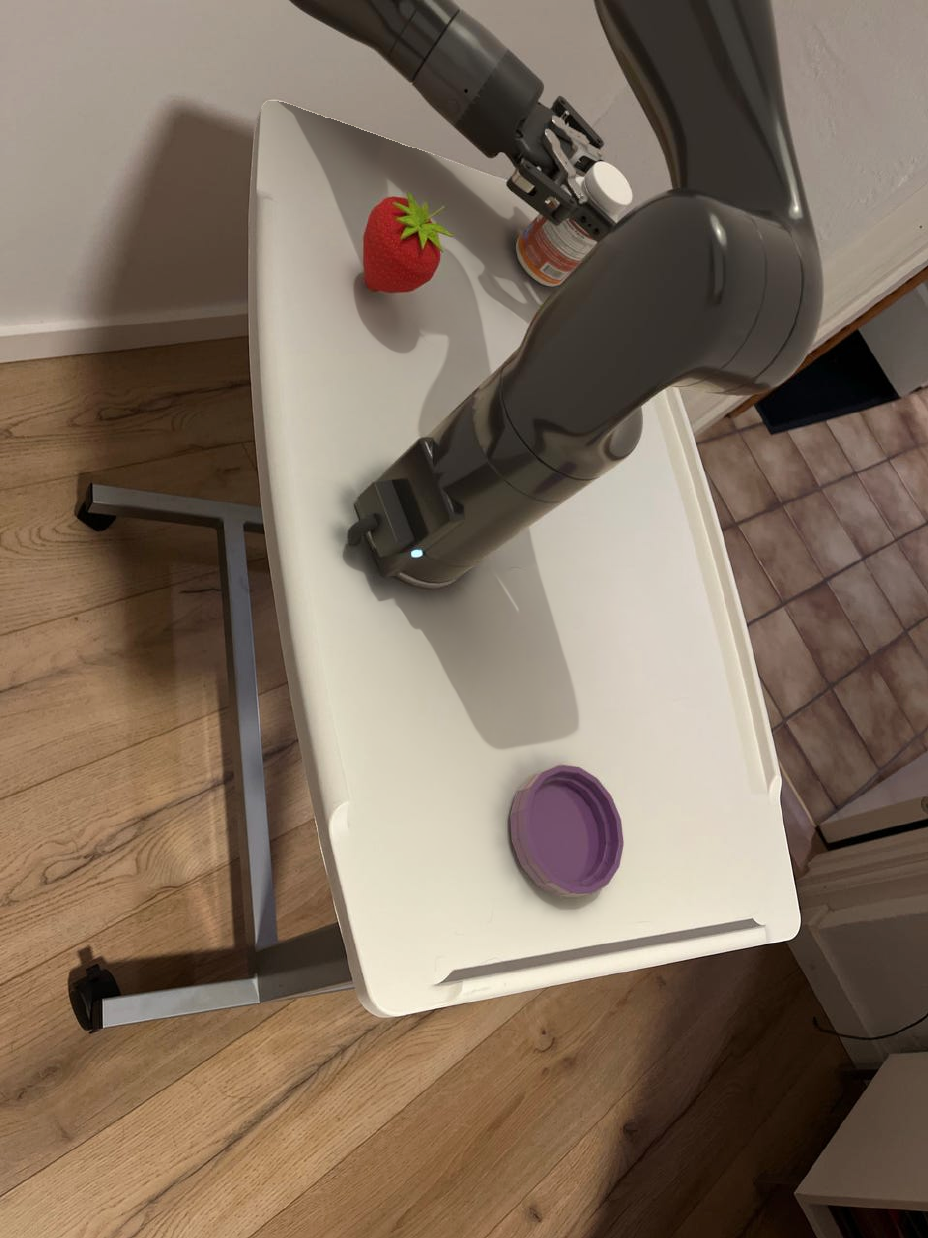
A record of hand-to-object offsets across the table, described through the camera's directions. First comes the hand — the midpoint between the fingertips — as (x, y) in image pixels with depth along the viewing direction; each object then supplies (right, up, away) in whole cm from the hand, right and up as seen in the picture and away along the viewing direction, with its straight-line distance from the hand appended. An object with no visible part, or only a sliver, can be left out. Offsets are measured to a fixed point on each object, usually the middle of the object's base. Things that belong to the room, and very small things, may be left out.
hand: (617, 216), depth 84 cm
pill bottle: (-7, -2, +6) cm, 10 cm away
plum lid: (-7, -53, -18) cm, 56 cm away
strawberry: (-22, -10, -8) cm, 25 cm away
